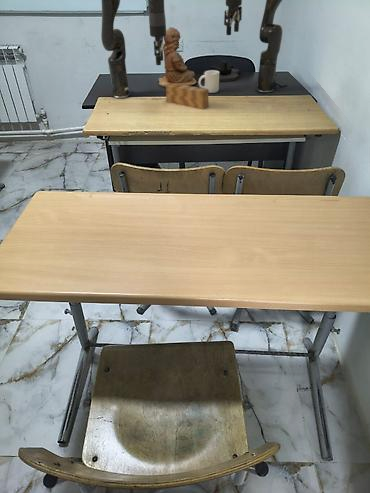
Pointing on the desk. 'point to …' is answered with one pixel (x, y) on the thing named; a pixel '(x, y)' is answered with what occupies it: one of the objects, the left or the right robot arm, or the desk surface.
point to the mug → (210, 81)
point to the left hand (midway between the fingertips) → (159, 62)
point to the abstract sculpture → (225, 71)
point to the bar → (187, 95)
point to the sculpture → (175, 62)
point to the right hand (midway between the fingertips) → (232, 33)
